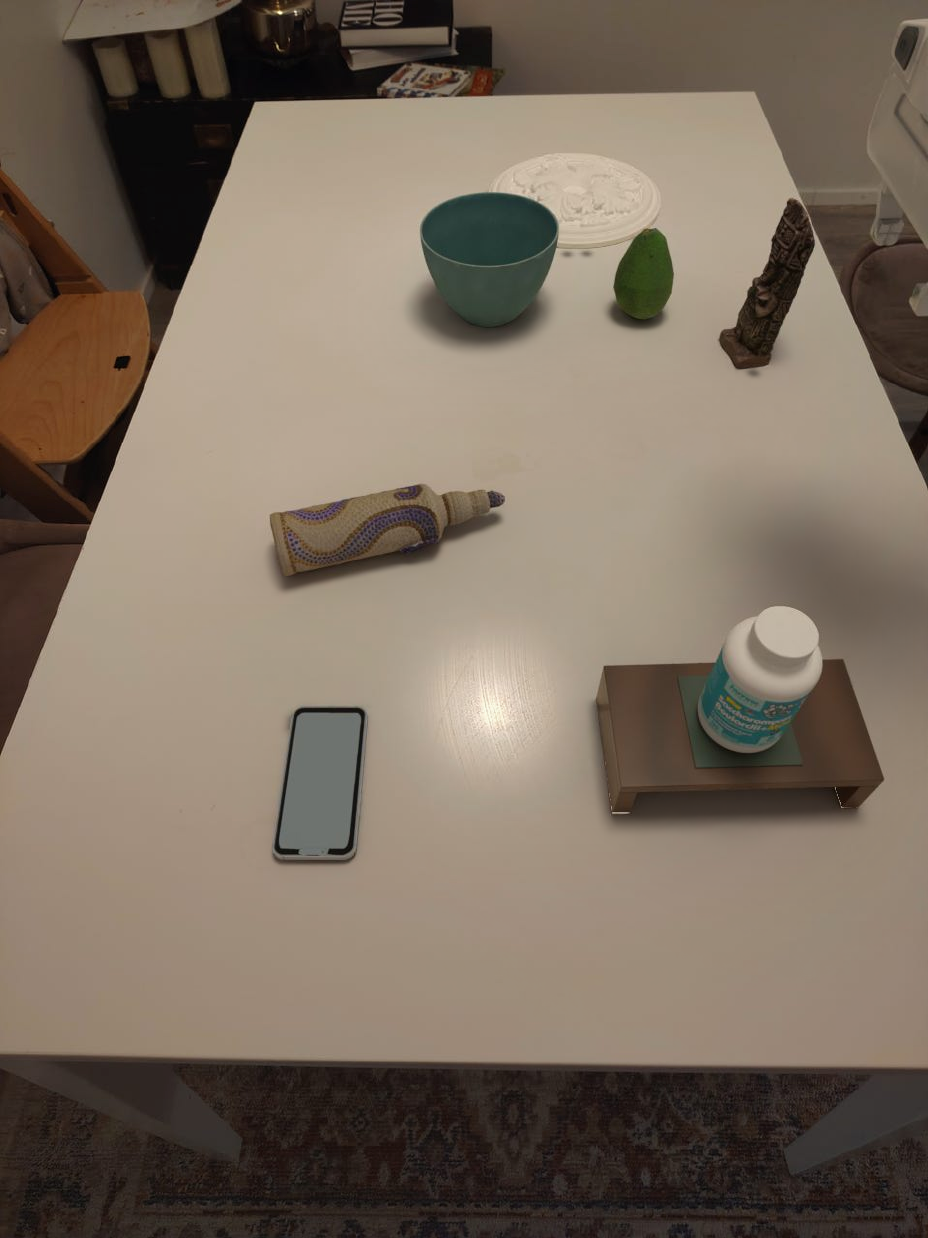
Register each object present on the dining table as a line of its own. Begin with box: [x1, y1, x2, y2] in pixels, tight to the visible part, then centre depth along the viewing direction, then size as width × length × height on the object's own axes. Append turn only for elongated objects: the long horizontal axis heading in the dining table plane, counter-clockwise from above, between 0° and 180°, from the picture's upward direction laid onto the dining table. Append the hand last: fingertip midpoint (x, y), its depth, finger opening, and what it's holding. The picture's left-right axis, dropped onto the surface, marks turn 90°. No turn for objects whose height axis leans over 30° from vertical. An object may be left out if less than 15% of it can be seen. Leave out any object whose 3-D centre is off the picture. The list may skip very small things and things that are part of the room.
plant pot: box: [419, 191, 559, 328], centre depth 113 cm, size 18×18×12 cm
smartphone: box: [271, 705, 369, 861], centre depth 75 cm, size 7×1×15 cm
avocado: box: [612, 227, 675, 320], centre depth 112 cm, size 8×8×12 cm
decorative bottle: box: [269, 483, 506, 577], centre depth 90 cm, size 26×8×7 cm, turn 105°
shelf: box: [595, 658, 885, 813], centre depth 74 cm, size 22×12×6 cm, turn 91°
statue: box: [718, 197, 816, 369], centre depth 103 cm, size 7×7×20 cm
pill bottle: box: [698, 605, 823, 753], centre depth 66 cm, size 8×7×14 cm
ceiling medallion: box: [487, 152, 662, 250], centre depth 133 cm, size 28×28×3 cm
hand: (900, 274), depth 64 cm, fingers open, 8 cm apart
